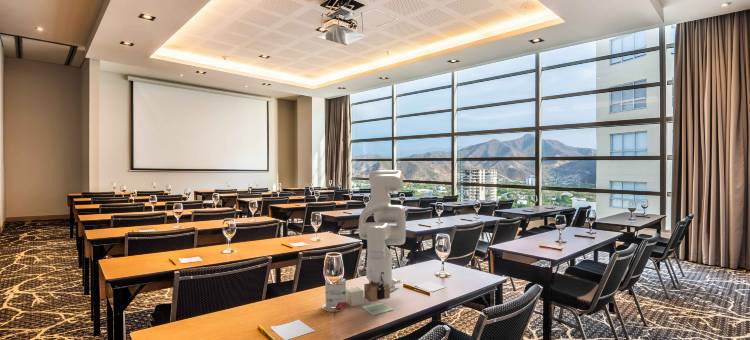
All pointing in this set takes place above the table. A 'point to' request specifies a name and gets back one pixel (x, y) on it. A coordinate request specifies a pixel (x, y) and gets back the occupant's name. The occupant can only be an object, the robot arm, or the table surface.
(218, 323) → the table surface
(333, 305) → the ink box
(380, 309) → the mat
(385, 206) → the robot arm
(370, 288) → the walnut brick
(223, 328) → the table surface
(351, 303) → the cream brick
